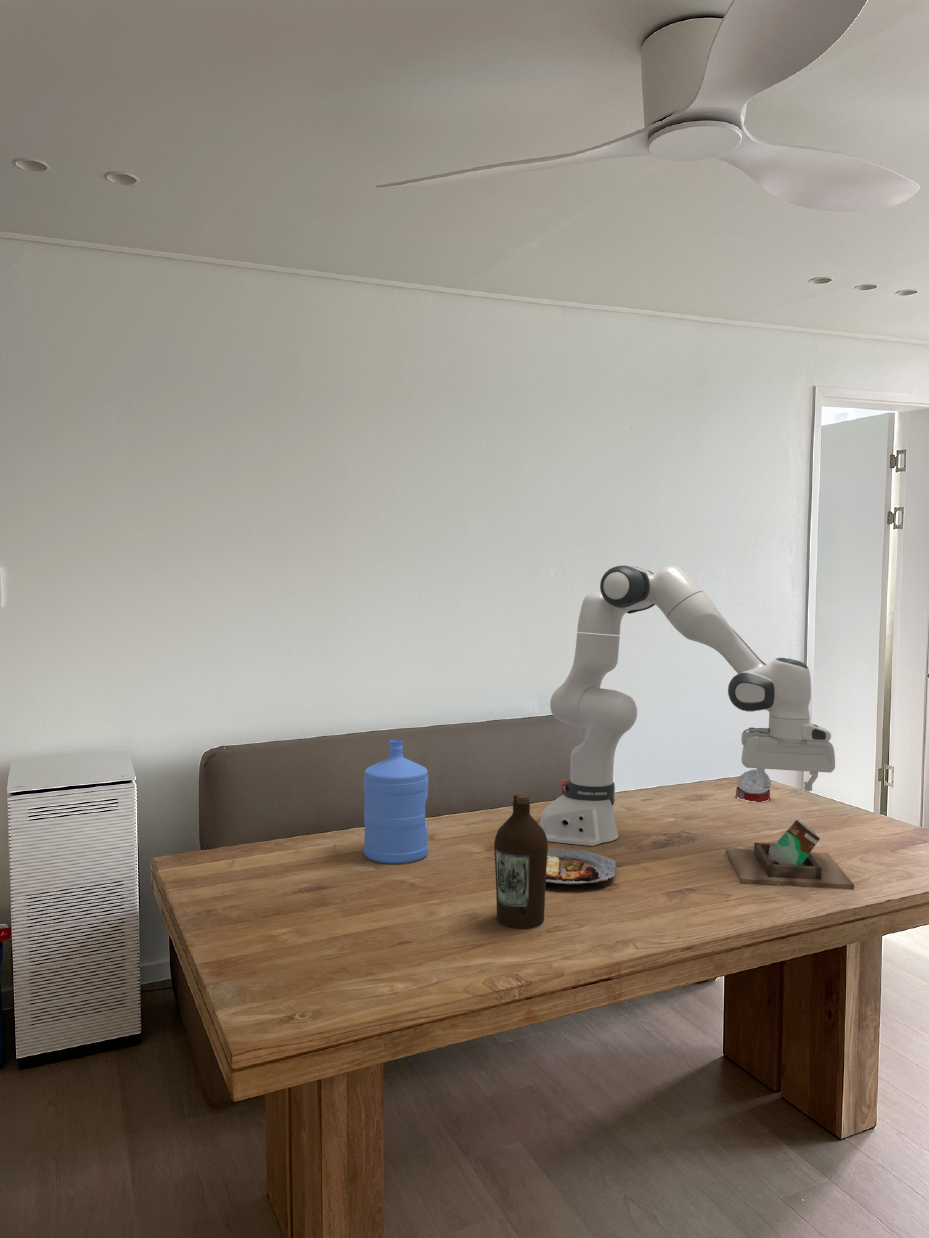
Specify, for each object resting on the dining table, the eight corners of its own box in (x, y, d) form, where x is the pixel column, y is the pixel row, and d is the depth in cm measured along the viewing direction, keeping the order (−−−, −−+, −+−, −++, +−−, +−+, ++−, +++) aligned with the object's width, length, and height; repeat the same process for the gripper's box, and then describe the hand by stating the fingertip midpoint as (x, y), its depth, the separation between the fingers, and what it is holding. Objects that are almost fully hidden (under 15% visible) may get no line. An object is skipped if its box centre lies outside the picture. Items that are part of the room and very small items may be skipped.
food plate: (613, 895, 191) (613, 879, 191) (505, 888, 196) (505, 872, 196) (617, 861, 216) (617, 847, 216) (521, 856, 220) (521, 841, 220)
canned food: (769, 814, 274) (784, 788, 270) (746, 815, 268) (761, 789, 264) (745, 789, 282) (760, 764, 278) (723, 790, 277) (737, 764, 273)
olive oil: (508, 905, 186) (508, 786, 184) (555, 915, 180) (556, 792, 179) (484, 923, 176) (485, 798, 175) (533, 934, 171) (534, 805, 170)
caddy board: (740, 883, 199) (741, 867, 199) (725, 852, 221) (726, 838, 221) (853, 889, 196) (854, 873, 196) (827, 857, 218) (828, 842, 218)
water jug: (399, 869, 208) (399, 749, 206) (350, 856, 217) (350, 741, 215) (441, 852, 220) (441, 739, 218) (393, 840, 229) (393, 732, 228)
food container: (798, 823, 201) (771, 858, 202) (821, 840, 200) (794, 875, 201) (787, 811, 213) (762, 844, 214) (809, 827, 212) (784, 860, 213)
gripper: (743, 729, 205) (741, 789, 205) (838, 733, 201) (835, 794, 202) (740, 724, 211) (737, 783, 211) (831, 729, 207) (829, 788, 208)
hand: (786, 789), depth 207 cm, fingers open, 8 cm apart
